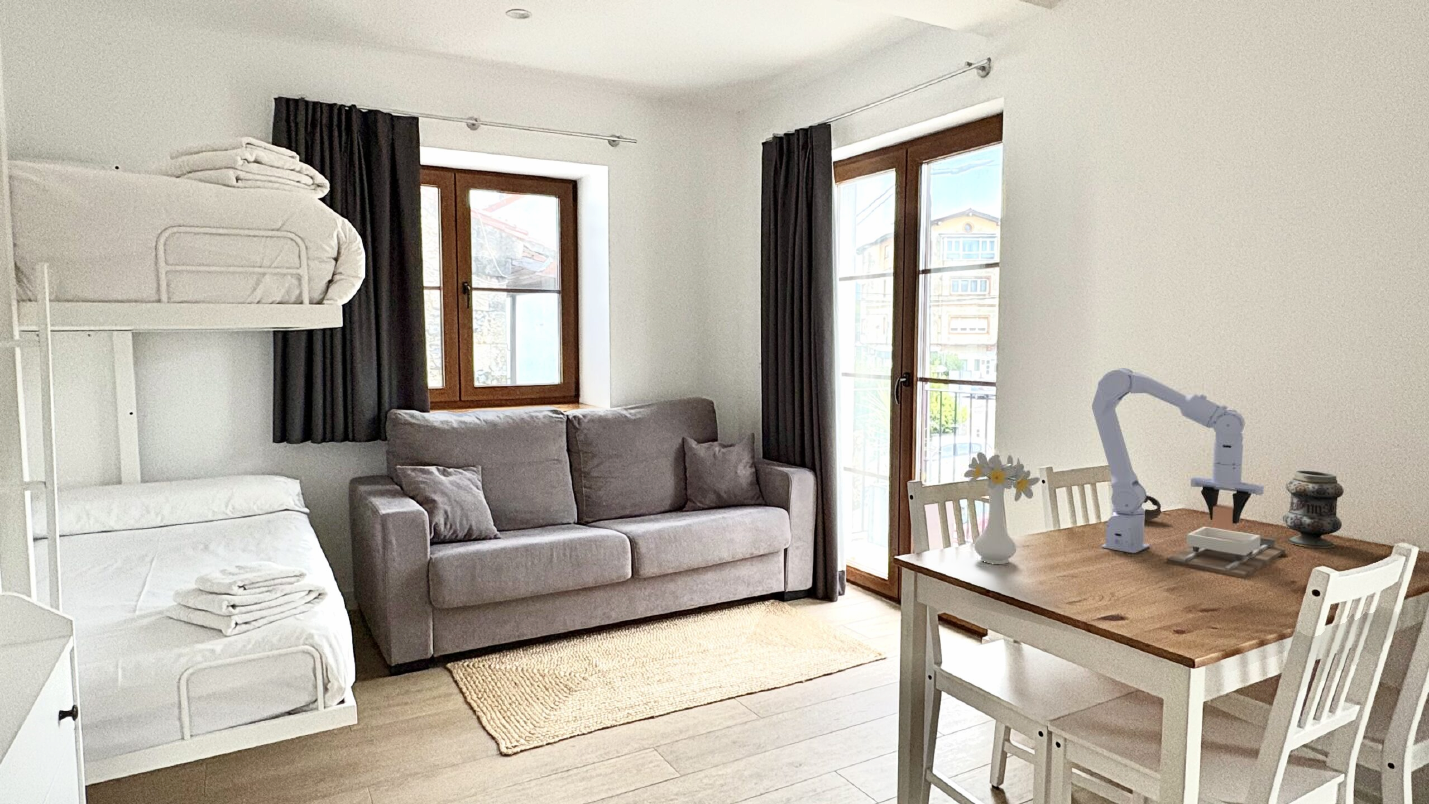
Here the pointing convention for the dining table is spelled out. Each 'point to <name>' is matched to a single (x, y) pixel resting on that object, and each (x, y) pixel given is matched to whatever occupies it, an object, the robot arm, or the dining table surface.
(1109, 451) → the robot arm
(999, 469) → the flower vase
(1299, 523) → the apothecary jar
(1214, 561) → the track board
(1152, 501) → the pottery mug
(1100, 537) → the dining table surface
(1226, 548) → the white square tray
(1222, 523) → the terracotta block
